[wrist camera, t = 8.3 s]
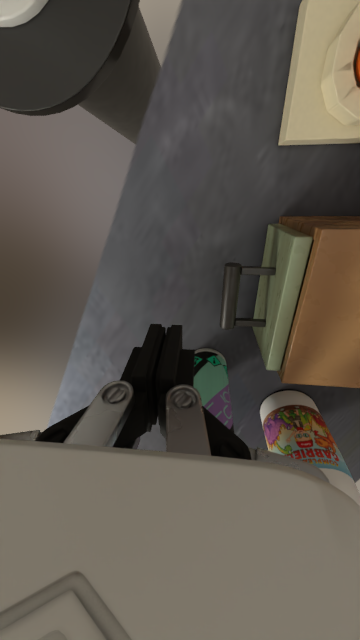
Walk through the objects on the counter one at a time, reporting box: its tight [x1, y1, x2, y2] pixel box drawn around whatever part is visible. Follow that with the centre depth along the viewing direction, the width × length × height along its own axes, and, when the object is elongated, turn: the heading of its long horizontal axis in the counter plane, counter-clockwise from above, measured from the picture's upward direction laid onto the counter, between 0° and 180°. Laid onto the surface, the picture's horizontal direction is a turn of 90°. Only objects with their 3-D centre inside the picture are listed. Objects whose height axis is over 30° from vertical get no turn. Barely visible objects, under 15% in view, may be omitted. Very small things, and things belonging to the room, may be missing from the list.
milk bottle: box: [260, 390, 360, 506], centre depth 26 cm, size 8×8×20 cm
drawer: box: [220, 224, 314, 371], centre depth 21 cm, size 18×11×8 cm, turn 90°
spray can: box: [193, 348, 234, 433], centre depth 23 cm, size 6×6×20 cm
